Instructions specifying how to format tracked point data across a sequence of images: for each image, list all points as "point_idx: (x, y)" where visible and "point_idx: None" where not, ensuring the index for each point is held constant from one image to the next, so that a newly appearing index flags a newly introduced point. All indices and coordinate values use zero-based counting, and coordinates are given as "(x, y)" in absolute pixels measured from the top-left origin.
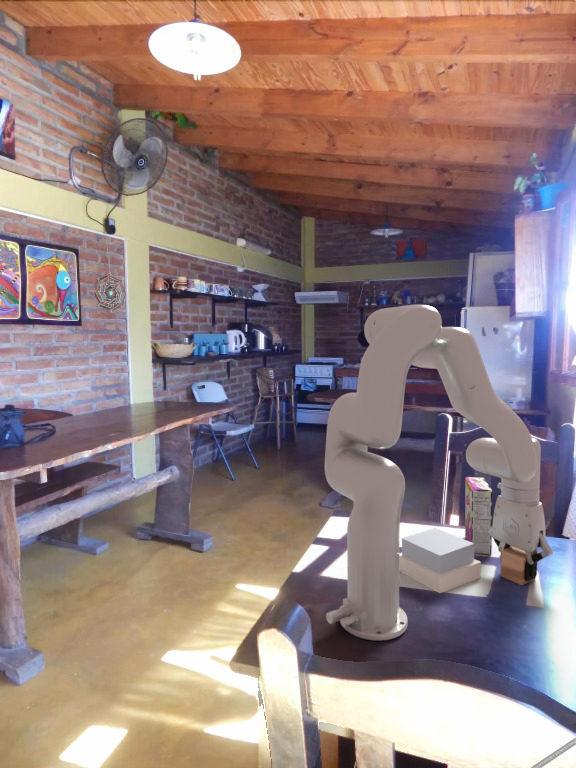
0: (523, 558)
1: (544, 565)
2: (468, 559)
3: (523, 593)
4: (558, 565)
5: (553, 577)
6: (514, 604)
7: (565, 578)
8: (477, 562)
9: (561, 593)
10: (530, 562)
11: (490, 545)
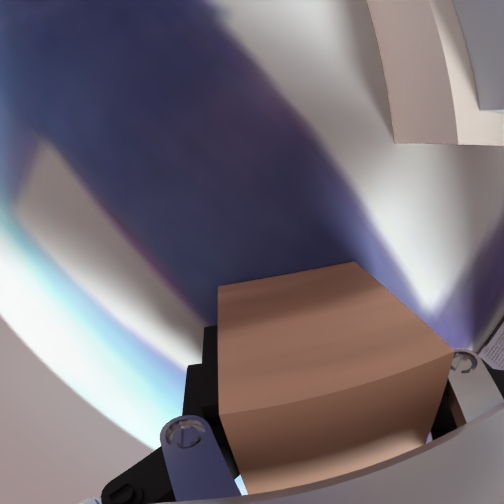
0: (224, 424)
1: None
2: (485, 44)
3: (139, 223)
4: None
5: None
6: (72, 84)
7: None
8: (460, 112)
9: (97, 384)
10: (179, 429)
11: None
